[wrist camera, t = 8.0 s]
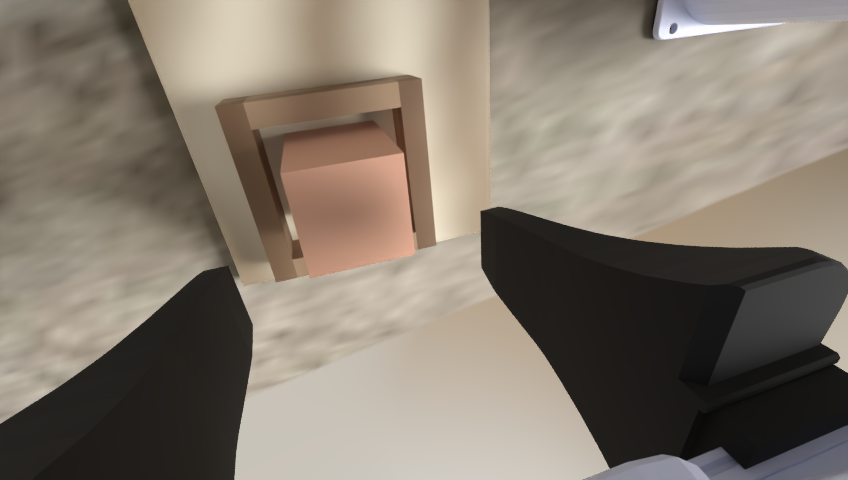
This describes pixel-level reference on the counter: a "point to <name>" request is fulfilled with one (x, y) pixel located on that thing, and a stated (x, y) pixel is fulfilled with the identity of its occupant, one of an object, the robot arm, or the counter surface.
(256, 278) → the board
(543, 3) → the counter surface
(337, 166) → the block
